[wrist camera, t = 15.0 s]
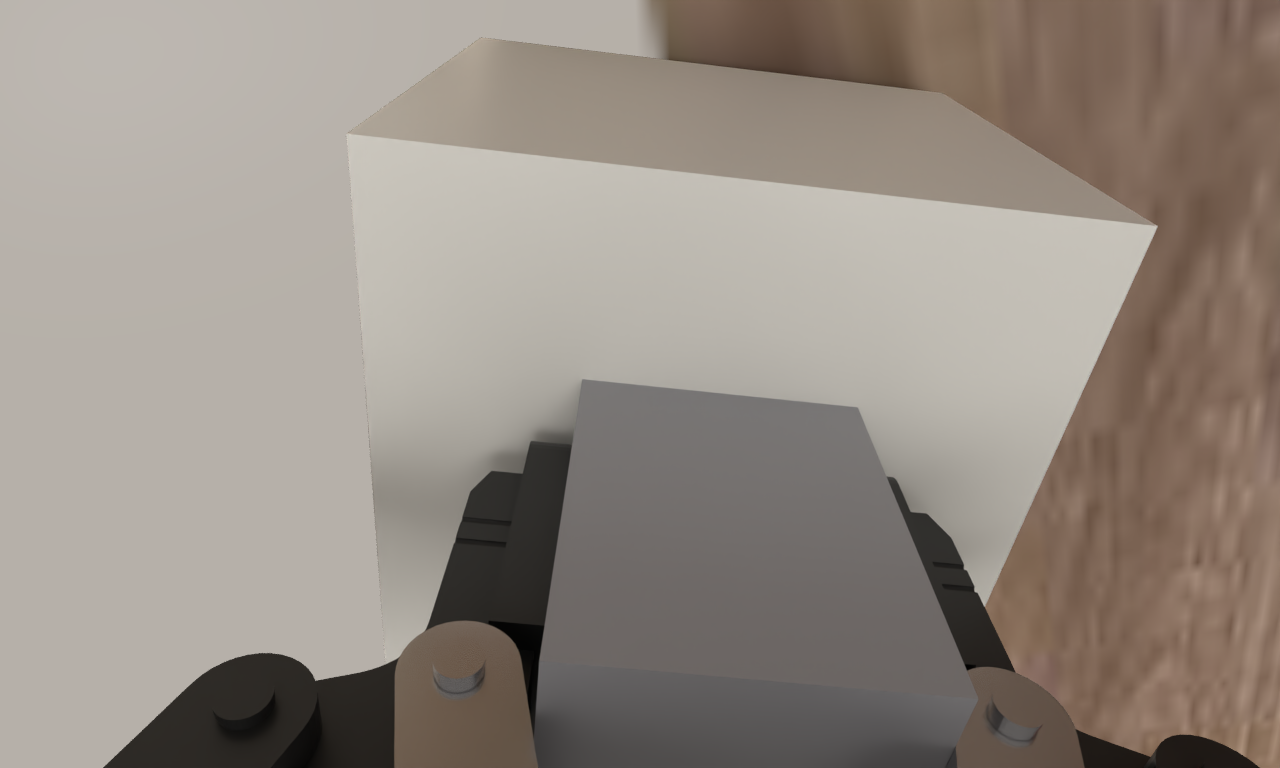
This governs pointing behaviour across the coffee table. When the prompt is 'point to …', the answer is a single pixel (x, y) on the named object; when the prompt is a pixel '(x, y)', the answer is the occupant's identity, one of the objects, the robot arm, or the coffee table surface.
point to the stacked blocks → (722, 382)
